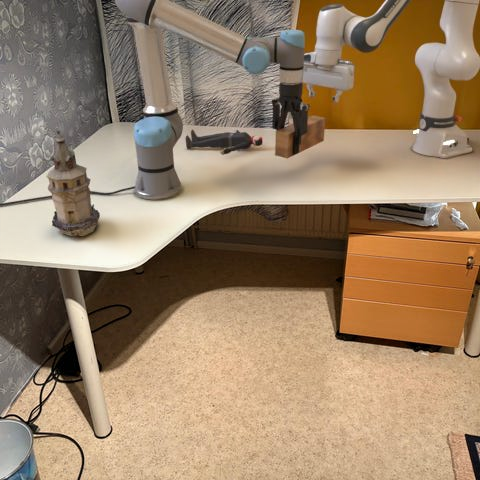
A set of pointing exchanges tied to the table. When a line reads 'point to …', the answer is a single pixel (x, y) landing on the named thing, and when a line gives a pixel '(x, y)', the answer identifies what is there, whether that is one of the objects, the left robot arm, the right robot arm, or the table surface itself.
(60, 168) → the miniature building
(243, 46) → the left robot arm
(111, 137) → the table surface
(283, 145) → the bar
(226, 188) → the table surface
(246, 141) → the toy
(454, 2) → the right robot arm
